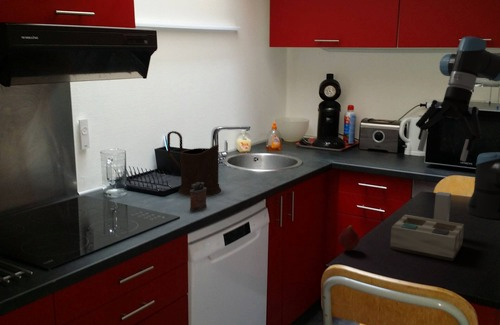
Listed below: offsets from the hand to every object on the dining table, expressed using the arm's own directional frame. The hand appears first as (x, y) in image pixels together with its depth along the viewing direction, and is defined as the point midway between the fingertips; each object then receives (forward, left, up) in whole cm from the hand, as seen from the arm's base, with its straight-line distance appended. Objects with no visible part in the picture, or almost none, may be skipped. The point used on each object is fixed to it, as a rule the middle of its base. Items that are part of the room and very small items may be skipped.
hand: (440, 155), depth 163 cm
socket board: (+8, 0, -27) cm, 29 cm away
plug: (-6, +1, -27) cm, 28 cm away
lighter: (+13, -83, -28) cm, 89 cm away
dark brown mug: (-8, -101, -28) cm, 105 cm away
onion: (+24, -19, -28) cm, 41 cm away
